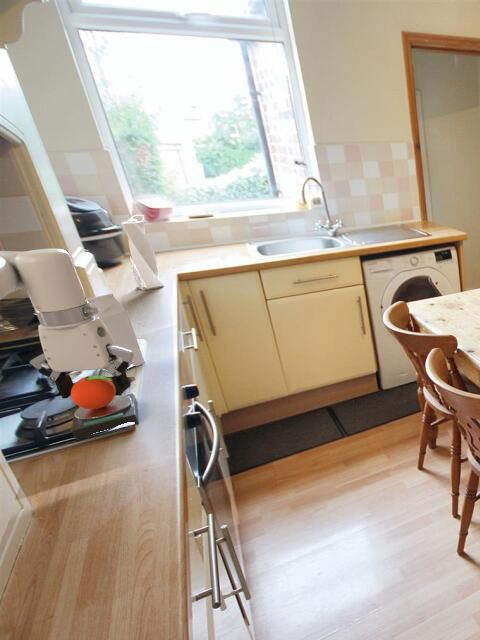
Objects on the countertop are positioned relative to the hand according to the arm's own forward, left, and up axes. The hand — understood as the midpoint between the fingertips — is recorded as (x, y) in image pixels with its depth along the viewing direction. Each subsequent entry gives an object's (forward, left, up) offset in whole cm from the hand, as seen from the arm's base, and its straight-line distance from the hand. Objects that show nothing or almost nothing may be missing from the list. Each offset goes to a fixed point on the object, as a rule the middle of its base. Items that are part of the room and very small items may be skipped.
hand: (97, 392), depth 96 cm
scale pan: (0, 0, -4) cm, 4 cm away
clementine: (0, 0, -4) cm, 4 cm away
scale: (0, 0, -6) cm, 7 cm away
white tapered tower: (-37, +105, -7) cm, 112 cm away
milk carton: (-11, +28, -7) cm, 30 cm away
